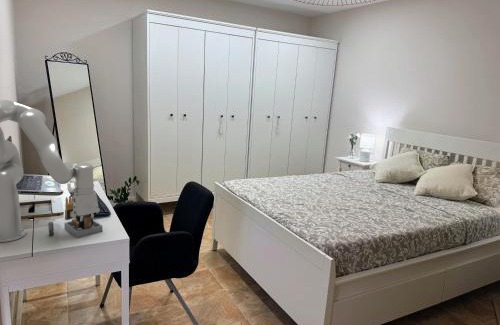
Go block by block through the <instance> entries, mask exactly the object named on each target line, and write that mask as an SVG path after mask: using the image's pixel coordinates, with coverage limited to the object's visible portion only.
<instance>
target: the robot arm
mask: <svg viewBox="0 0 500 325" xmlns="http://www.w3.org/2000/svg"><path fill="white" fill-rule="evenodd" d="M6 121H10V122H15V123H18V124H19V127H20V128H21V129H22V131H23V132H24V135H26V136H27V138H28V139H29V141H30V142H31V144H32V145H33V147H34V148H35V149H36V151H37V153H38V156H39V158H40V159H39V160H40V161H41V164H42V166H43V167H44V169H45V170H46V172H47V173H48V174H49V175H50V177H51V178H52V180H53V181H54V182H56V183H58V184H61V185H64V184H67V183H68V182H70V181H71V180H72V179H74V180H75V185H76V187H75V189H74V190H73V192H72V193H74V192H75V193H74V194H73V195H74V199H73V212H72V214H71V217H72V219H78V220H79V227H80V228H82V229H84V221H83V215H89V216H91V226H92V224H93V220H94V218H95V217H96V215H97V214H98V213H100V211H101V209H100V208H99V201H98V196H97V192H96V191H95V190H94V167H93V165H92V164H90V163H86V162H84V163H82V162H81V163H76V162H68V161H67V162H64V161H63V159H62V158H61V156H60V154H59V150H58V142H57V139H56V138H55V136H54V135H53V134H52V131H51V130H50V129H49V128H48V126H47V124H46V121H47V117H46V116H45V114H44V112H42V111H41V110H40V109H37V108H34V107H30V106H28V105H24V104H22V103H19V102H15V101H13V100H8V99H7V100H6V99H1V100H0V124H1V123H3V122H6ZM23 177H24V168H23V164H22V160H21V157H20V153H19V149H18V148H17V146H16V145H15V144H14V143H13V142H12V141H10V140H7V139H6V138H5V134H4V131H3V129H2V127H1V126H0V243H8V242H14V241H17V240H19V239H21V238H24V237H25V236H26V235H27V232H26V229H25V228H23V227H22V218H21V206H20V196H19V191H18V188H17V184H18V183H19V182H20V181H21V180H22V179H23ZM75 214H76V215H75Z"/></svg>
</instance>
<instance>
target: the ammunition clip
mask: <svg viewBox="0 0 500 325" xmlns="http://www.w3.org/2000/svg"><path fill="white" fill-rule="evenodd" d="M71 198H72V201H71ZM73 199H74V194H73V195H72V196H68V197H67V196H66V197H65V209H64V219H65V220H67V221H68V220H72V219H73V218H72V217H71V214H72V212H73ZM75 215H76V214H75Z"/></svg>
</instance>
